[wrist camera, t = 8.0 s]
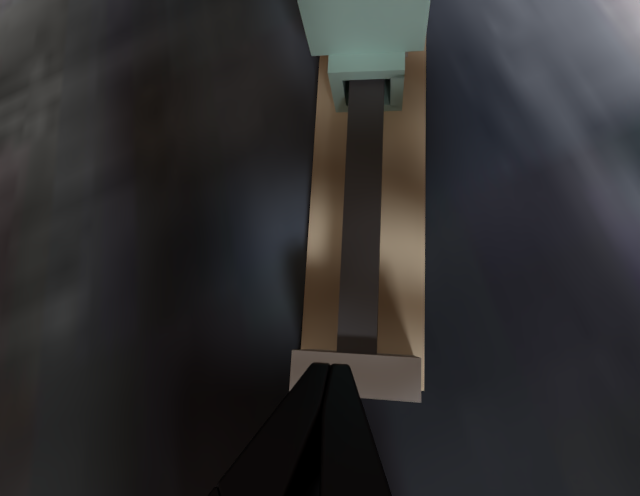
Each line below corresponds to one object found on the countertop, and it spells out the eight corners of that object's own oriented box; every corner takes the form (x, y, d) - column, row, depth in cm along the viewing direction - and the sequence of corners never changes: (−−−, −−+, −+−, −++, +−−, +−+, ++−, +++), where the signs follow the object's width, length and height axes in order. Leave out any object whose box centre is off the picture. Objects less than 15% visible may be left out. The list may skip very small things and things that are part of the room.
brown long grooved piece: (422, 388, 21) (437, 406, 15) (302, 380, 22) (272, 393, 16) (424, 34, 25) (436, -62, 19) (323, 39, 26) (306, -51, 20)
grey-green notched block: (417, 110, 22) (445, -88, 12) (320, 112, 23) (269, -72, 13) (418, 58, 23) (445, -172, 12) (324, 62, 23) (277, -151, 13)
